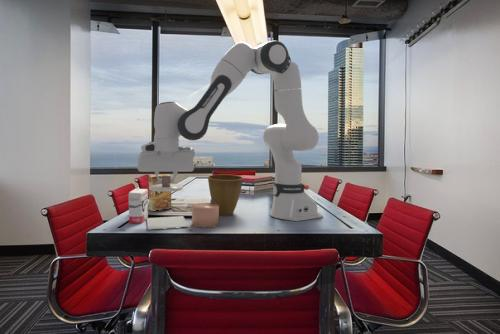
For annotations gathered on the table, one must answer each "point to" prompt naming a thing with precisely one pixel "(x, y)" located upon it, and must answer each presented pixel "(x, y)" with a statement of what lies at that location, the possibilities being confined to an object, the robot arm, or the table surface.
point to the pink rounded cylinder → (205, 215)
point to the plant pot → (225, 192)
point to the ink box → (138, 205)
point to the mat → (166, 222)
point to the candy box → (158, 196)
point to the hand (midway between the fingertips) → (166, 183)
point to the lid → (165, 185)
